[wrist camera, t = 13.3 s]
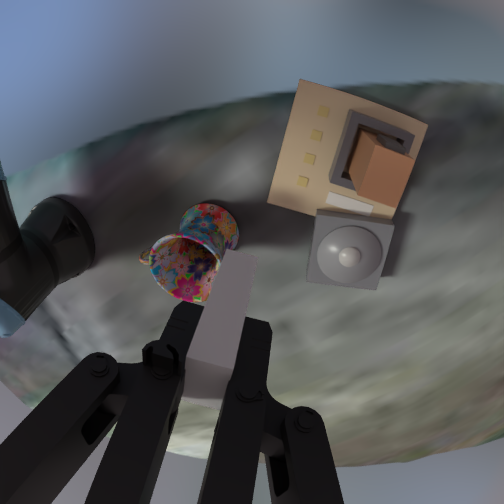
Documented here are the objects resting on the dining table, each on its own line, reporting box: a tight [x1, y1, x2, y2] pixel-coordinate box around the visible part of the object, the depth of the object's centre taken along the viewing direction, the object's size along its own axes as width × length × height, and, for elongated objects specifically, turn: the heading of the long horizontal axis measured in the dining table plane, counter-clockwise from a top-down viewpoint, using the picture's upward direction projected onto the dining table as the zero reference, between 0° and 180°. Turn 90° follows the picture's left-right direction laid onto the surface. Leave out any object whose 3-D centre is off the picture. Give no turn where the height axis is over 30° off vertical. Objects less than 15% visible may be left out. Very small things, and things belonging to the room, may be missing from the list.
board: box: [267, 79, 428, 220], centre depth 35 cm, size 16×16×4 cm
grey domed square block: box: [306, 209, 395, 290], centre depth 41 cm, size 10×10×4 cm
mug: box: [139, 203, 239, 302], centre depth 41 cm, size 12×9×11 cm
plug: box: [347, 128, 415, 209], centre depth 31 cm, size 4×6×10 cm
